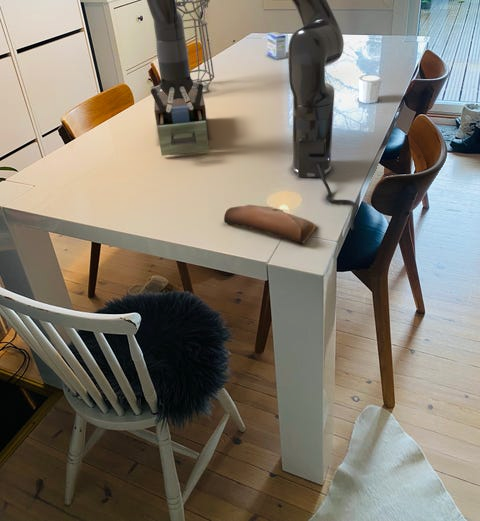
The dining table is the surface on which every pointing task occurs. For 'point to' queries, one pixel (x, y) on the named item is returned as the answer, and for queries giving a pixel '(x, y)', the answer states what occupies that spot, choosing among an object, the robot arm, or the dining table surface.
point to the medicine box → (276, 45)
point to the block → (180, 114)
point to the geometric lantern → (200, 38)
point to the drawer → (182, 135)
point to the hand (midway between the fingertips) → (181, 123)
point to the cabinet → (180, 103)
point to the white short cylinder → (369, 88)
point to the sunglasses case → (270, 221)
